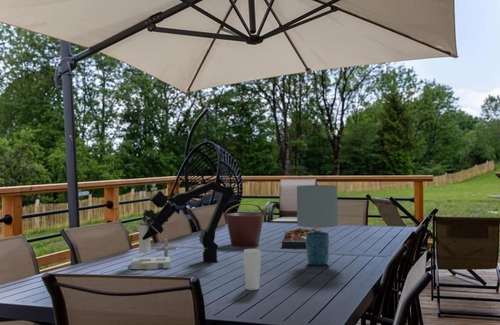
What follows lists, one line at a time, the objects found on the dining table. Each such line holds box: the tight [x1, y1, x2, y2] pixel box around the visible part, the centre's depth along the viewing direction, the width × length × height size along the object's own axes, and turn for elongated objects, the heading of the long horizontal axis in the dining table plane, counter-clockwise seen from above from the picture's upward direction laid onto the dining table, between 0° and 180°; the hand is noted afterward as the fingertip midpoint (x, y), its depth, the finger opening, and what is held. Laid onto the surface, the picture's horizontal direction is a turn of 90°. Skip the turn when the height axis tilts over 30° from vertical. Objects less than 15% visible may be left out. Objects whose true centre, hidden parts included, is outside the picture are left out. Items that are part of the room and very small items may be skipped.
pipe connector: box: [155, 238, 177, 257], centre depth 254 cm, size 10×10×10 cm
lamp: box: [296, 184, 339, 267], centre depth 234 cm, size 19×19×38 cm
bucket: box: [223, 203, 266, 248], centre depth 295 cm, size 24×22×25 cm
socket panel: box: [130, 256, 171, 270], centre depth 233 cm, size 18×14×3 cm
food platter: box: [281, 227, 315, 249], centre depth 303 cm, size 45×25×10 cm, turn 172°
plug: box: [138, 222, 152, 254], centre depth 233 cm, size 4×4×14 cm
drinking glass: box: [242, 248, 262, 291], centre depth 188 cm, size 7×7×15 cm
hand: (141, 238), depth 233 cm, fingers closed on plug, 5 cm apart
